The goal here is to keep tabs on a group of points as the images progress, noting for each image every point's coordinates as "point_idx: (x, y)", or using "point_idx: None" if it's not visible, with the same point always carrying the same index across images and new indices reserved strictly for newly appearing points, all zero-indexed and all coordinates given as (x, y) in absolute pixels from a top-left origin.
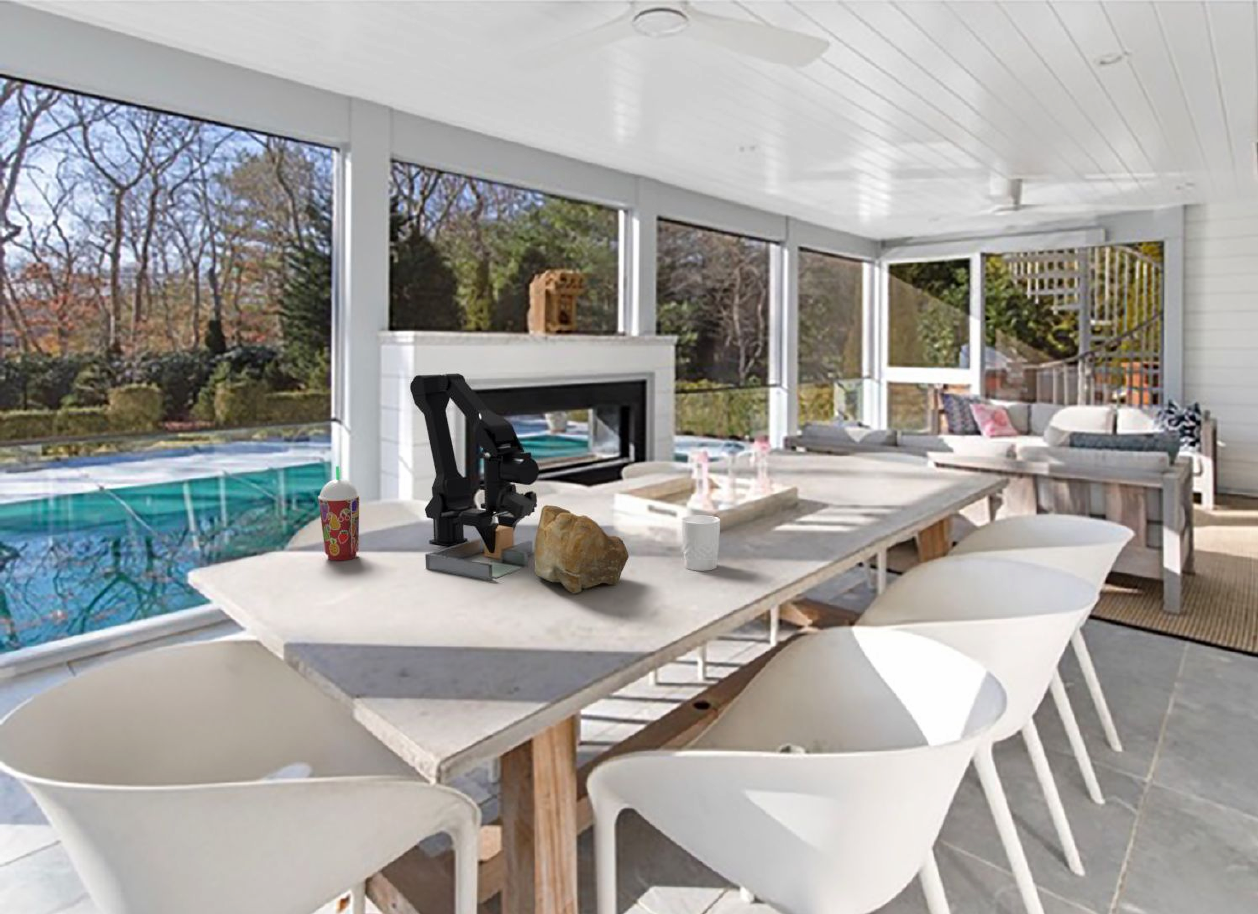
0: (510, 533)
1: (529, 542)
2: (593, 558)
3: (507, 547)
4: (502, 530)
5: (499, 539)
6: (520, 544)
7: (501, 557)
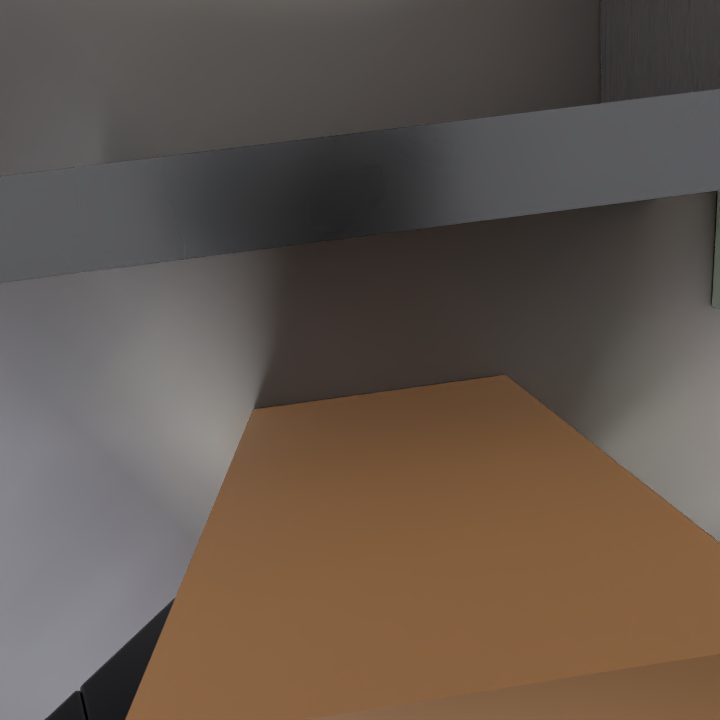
0: (293, 595)
1: (64, 172)
2: None
3: (389, 436)
4: (667, 687)
5: (658, 510)
6: (334, 173)
7: (494, 380)
